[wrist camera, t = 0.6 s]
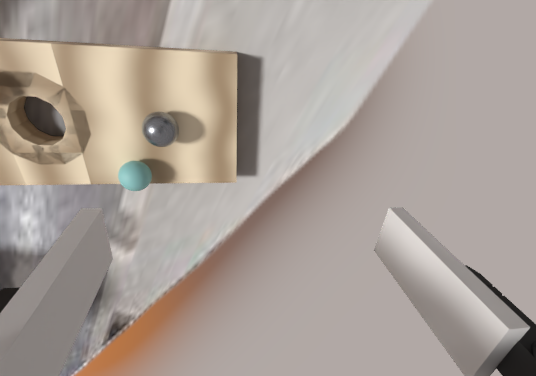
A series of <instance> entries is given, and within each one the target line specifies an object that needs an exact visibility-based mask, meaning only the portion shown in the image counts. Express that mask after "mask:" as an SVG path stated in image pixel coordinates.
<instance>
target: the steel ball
mask: <svg viewBox="0 0 536 376" xmlns="http://www.w3.org/2000/svg"><path fill="white" fill-rule="evenodd" d="M142 133H143V136H144V138H145V139H146V140H147V141H148V142H149V143H150V144H152V145H154V146H157V147H167V146H169V145H171V144H173V143H174V142H175V141H176V139H177V138H178V135H179V126H178V123H177V121H176V120H175V119H174V118H173V117H172V116H171V115H170V114H168V113H165V112H160V111H158V112H153V113H150V114H149V115H147V116H146V117H145V119H144V120H143V123H142Z"/></svg>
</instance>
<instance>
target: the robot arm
mask: <svg viewBox="0 0 536 376" xmlns="http://www.w3.org/2000/svg"><path fill="white" fill-rule="evenodd" d="M374 251H375V252H376V253H377V255H378V257H379V258H380V259H381V261H382V262H383V263H384V265H385V266H386V267H387V269H388V270H389V272H390V273H391V274H392V276H393V277H394V279H395V280H396V281H397V282H398V284H399V286H400V287H401V288H402V290H403V291H404V293H405V294H406V295H407V297H408V298H409V299H410V301H411V302H412V304H413V305H414V306H415V308H416V309H417V310H418V312H419V313H420V315H421V316H422V318H423V319H424V320H425V322H426V323H427V324H428V326H429V327H430V329H431V330H432V331H433V333H434V334H435V336H436V337H437V338H438V340H439V341H440V342H441V344H442V345H443V347H444V348H445V349H446V351H447V352H448V353H449V355H450V356H451V358H452V359H453V360H454V362H455V363H456V365H457V366H458V367H459V368H460V370H461V372H462V373H463V374H464V376H490V375H491V374H492V373H493V372H494V370H495V369H496V368H497V369H498V371H499V372H500V373H501V374H502V375H503V376H536V324H534V323H533V322H532V321H531V320H530V319H529V318H528V317H527V316H526V315H525V314H524V313H523V312H521V311H520V310H519V309H518V308H517V307H516V306H515V305H514V304H513V303H512V302H510V301H509V300H508V299H507V298H506V297H505V296H502V293H501V292H500V291H498V290H497V289H496V288H495V287H493V286H492V284H491V283H490V282H489V281H488V280H486V279H485V278H484V277H483V276H482V275H481V274H479V273H478V272H476V271H475V270H473V269H472V268H470V267H468V266H465V265H464V264H462V263H461V262H460V261H459V260H458V259H457V258H456V257H455V256H454V255H453V254H452V253H451V252H450V251H449V250H448V249H447V248H445V247H444V246H443V245H442V244H441V243H440V242H439V241H438V240H437V239H436V238H434V236H433V235H432V234H430V233H429V232H428V231H427V230H426V229H425V228H424V227H423V226H422V225H421V224H420V223H419V222H418V221H417V220H416V219H415V218H414V217H412V216H411V215H410V214H409V213H408V212H407V211H406V210H405V209H404V208H389V210H388V212H387V215H386V218H385V221H384V224H383V227H382V229H381V232H380V235H379V238H378V241H377V244H376V246H375V249H374ZM112 260H113V258H112V253H111V248H110V244H109V239H108V234H107V230H106V225H105V220H104V216H103V211H102V209H81V210H80V211H79V212H78V214H77V215H76V216H75V217H74V219H73V220H72V221H71V223H70V224H69V225H68V227H67V228H66V229H65V230H64V232H63V233H62V234H61V236H60V237H59V238H58V239H57V241H56V242H55V243H54V245H53V246H52V247H51V248H50V250H49V251H48V252H47V254H46V255H45V256H44V257H43V259H42V260H41V261H40V263H39V264H38V265H37V266H36V268H35V269H34V270H33V272H32V273H31V274H30V276H29V277H28V278H27V279H26V281H25V282H24V283H23V285H22V286H21V287H20V288H4V289H2V290H1V291H0V376H59V375H60V372H61V370H62V368H63V366H64V364H65V362H66V359H67V357H68V355H69V353H70V351H71V349H72V346H73V344H74V342H75V340H76V338H77V336H78V333H79V331H80V329H81V327H82V325H83V323H84V320H85V318H86V316H87V314H88V312H89V310H90V308H91V305H92V303H93V301H94V299H95V297H96V295H97V292H98V290H99V288H100V286H101V284H102V282H103V279H104V277H105V275H106V273H107V271H108V269H109V266H110V264H111V262H112Z"/></svg>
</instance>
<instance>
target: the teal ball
mask: <svg viewBox="0 0 536 376" xmlns="http://www.w3.org/2000/svg"><path fill="white" fill-rule="evenodd" d="M118 179H119V181H120V183H121V185H122V186H123V187H125V188H126V189H128V190H131V191H139V190H143V189H144V188H146V187H147V186H148V185H149V184H150V182H151V179H152V173H151V170H150V168H149V167H148V166H147V165H146V164H145V163H143V162H140V161H129V162H127V163H125V164H124V165H122V167H121V168H120V170H119V173H118Z"/></svg>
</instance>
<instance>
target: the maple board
mask: <svg viewBox="0 0 536 376" xmlns="http://www.w3.org/2000/svg"><path fill="white" fill-rule="evenodd" d="M27 96H33V97H38V98H40V99H42V100H44V101H46V102H48V103H50V104H52V105H53V106H54V107H55V108H56V110H57V111H58V112H59V113H60V114H61V115H62V116H63V120H64V123H65V126H66V131H65V134H64V136H50V135H48V134H46V133H44V132H41V131H39V130H38V129H37V128H36V127H35V126H34V125H33V124H32V123H31V122H30V121H29V120H28V118H27V115H26V113H25V110H24V104H25V101H26V97H27ZM158 111H160V112H165V113H168V114H170V115H171V116H172V117H173V118H174V119H175V120H176V121H177V123H178V126H179V135H178V138H177V139H176V141H175V142H174V143H173V144H171V145H169V146H167V147H157V146H154V145H152V144H150V143H149V142H148V141H147V140H146V139H145V138H144V136H143V133H142V123H143V120H144V119H145V117H146V116H147V115H149V114H150V113H153V112H158ZM129 161H140V162H143V163H145V164H146V165H147V166H148V167H149V168H150V170H151V173H152V179H151V182H150V183H229V182H236V166H237V52H231V51H214V50H197V49H179V48H162V47H145V46H128V45H111V44H93V43H76V42H59V41H42V40H24V39H7V38H0V185H62V184H121V183H120V181H119V179H118V173H119V170H120V168H121V167H122V165H124V164H125V163H127V162H129Z"/></svg>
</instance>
